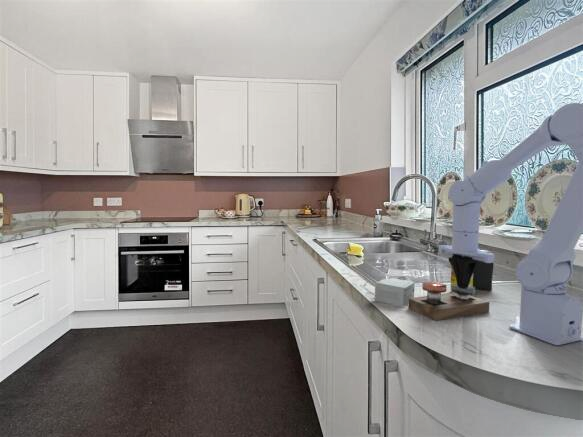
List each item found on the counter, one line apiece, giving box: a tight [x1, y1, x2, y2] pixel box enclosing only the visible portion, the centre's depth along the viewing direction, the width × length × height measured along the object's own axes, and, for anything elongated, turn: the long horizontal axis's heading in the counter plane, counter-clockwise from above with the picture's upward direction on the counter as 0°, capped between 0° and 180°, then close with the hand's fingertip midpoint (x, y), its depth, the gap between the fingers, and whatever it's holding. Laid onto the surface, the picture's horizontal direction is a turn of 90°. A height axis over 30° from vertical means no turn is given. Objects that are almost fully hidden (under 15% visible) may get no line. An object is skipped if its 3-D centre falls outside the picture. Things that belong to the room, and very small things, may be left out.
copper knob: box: [421, 281, 447, 304], centre depth 82 cm, size 5×5×4 cm
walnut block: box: [407, 292, 490, 322], centre depth 83 cm, size 9×16×2 cm, turn 111°
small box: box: [374, 277, 416, 308], centre depth 91 cm, size 8×8×5 cm
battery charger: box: [468, 249, 495, 291], centre depth 103 cm, size 7×4×11 cm, turn 66°
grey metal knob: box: [450, 284, 476, 302], centre depth 85 cm, size 5×5×4 cm
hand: (462, 286), depth 85 cm, fingers closed, pressing on grey metal knob
